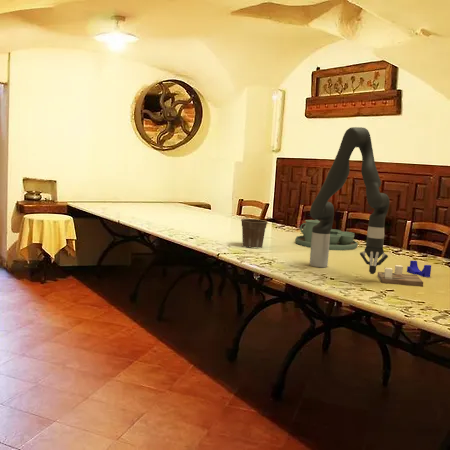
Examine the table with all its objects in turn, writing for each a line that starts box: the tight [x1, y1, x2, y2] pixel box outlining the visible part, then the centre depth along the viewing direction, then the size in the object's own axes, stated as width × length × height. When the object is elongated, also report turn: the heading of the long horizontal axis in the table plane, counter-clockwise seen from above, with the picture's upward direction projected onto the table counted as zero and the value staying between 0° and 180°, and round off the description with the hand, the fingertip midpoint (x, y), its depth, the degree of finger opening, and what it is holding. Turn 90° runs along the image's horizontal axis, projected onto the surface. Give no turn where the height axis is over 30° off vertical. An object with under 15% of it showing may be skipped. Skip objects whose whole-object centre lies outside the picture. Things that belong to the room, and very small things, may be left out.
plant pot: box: [240, 218, 268, 248], centre depth 313 cm, size 16×16×16 cm
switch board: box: [376, 271, 424, 287], centre depth 240 cm, size 15×18×2 cm
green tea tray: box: [295, 219, 359, 251], centre depth 336 cm, size 40×40×16 cm
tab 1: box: [383, 267, 393, 278], centre depth 236 cm, size 3×3×4 cm
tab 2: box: [394, 264, 404, 275], centre depth 244 cm, size 3×3×4 cm
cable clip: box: [406, 260, 432, 278], centre depth 257 cm, size 12×4×6 cm, turn 18°
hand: (372, 273), depth 237 cm, fingers closed
